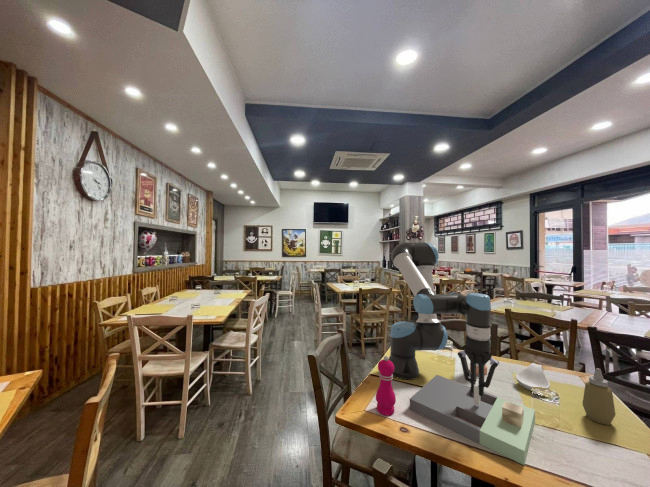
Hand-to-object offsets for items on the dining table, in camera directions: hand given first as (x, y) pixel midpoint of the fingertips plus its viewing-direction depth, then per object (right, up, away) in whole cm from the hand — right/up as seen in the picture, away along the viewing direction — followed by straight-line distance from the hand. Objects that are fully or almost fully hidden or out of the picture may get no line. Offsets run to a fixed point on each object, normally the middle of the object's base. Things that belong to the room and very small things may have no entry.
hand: (477, 403), depth 91 cm
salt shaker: (+21, -6, +34) cm, 41 cm away
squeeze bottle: (+43, -6, 0) cm, 44 cm away
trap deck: (-2, -5, +1) cm, 6 cm away
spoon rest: (+40, -7, +24) cm, 48 cm away
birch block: (+7, -1, -7) cm, 10 cm away
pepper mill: (-32, -5, +3) cm, 33 cm away
